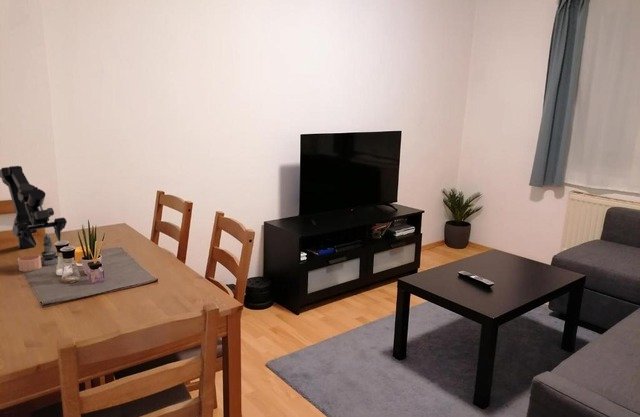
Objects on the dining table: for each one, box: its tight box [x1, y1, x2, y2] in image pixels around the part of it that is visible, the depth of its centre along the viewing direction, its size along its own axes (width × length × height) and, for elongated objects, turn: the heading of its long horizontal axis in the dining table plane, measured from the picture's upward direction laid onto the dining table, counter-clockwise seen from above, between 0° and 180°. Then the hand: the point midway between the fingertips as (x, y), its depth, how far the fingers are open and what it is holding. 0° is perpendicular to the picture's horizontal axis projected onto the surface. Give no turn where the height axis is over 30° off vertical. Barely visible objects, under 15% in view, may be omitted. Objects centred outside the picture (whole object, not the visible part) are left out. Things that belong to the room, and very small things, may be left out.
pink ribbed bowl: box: [17, 254, 43, 272], centre depth 187 cm, size 8×8×4 cm
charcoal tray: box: [41, 254, 58, 266], centre depth 195 cm, size 8×8×2 cm
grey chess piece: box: [40, 233, 58, 261], centre depth 194 cm, size 6×6×12 cm
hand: (47, 243), depth 193 cm, fingers open, 9 cm apart
